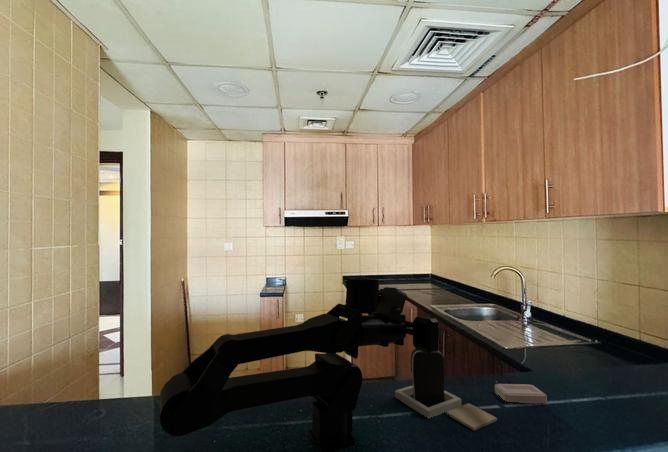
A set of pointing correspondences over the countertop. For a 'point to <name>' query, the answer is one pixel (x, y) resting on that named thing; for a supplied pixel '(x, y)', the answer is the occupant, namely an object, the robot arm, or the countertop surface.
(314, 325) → the robot arm
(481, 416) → the pad
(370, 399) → the countertop surface
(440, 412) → the frame
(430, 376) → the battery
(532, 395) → the soap bar
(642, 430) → the countertop surface
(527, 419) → the countertop surface
